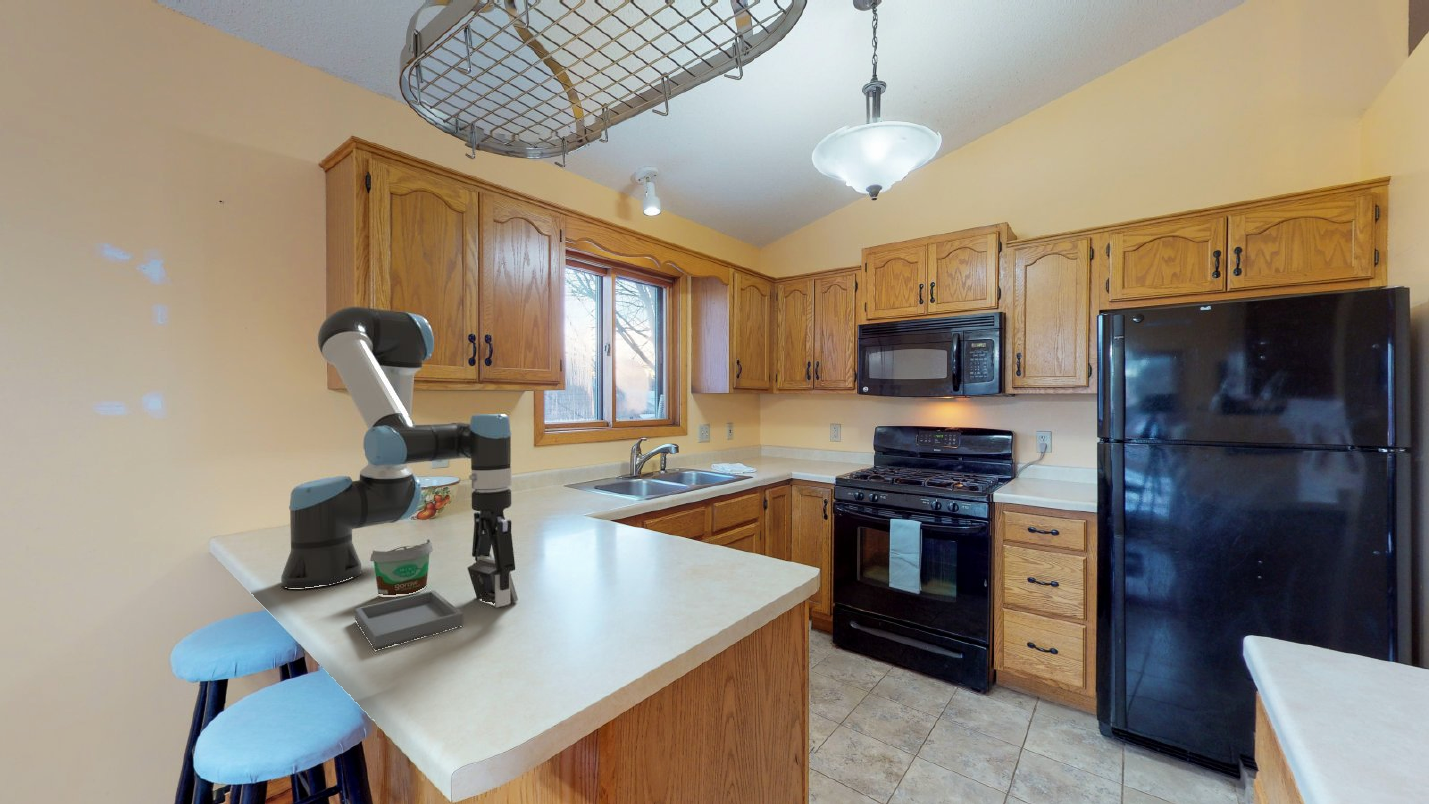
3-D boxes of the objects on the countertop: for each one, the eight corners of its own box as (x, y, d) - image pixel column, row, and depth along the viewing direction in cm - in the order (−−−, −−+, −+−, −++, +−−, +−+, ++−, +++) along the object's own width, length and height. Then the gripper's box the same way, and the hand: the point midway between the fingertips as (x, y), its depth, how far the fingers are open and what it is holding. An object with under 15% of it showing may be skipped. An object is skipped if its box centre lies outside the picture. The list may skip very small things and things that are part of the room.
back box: (355, 621, 99) (355, 608, 99) (434, 602, 109) (434, 590, 109) (375, 651, 87) (374, 636, 87) (462, 626, 96) (462, 613, 96)
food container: (382, 604, 108) (382, 555, 108) (370, 598, 112) (369, 550, 112) (443, 587, 118) (443, 542, 118) (430, 582, 122) (430, 538, 122)
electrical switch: (519, 602, 108) (514, 558, 107) (496, 613, 104) (491, 567, 103) (491, 594, 113) (487, 552, 112) (468, 604, 109) (464, 560, 108)
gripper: (454, 485, 114) (455, 590, 114) (493, 498, 98) (495, 619, 98) (489, 481, 119) (491, 581, 119) (532, 492, 103) (534, 608, 103)
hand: (493, 598), depth 109 cm, fingers closed on electrical switch, 9 cm apart
